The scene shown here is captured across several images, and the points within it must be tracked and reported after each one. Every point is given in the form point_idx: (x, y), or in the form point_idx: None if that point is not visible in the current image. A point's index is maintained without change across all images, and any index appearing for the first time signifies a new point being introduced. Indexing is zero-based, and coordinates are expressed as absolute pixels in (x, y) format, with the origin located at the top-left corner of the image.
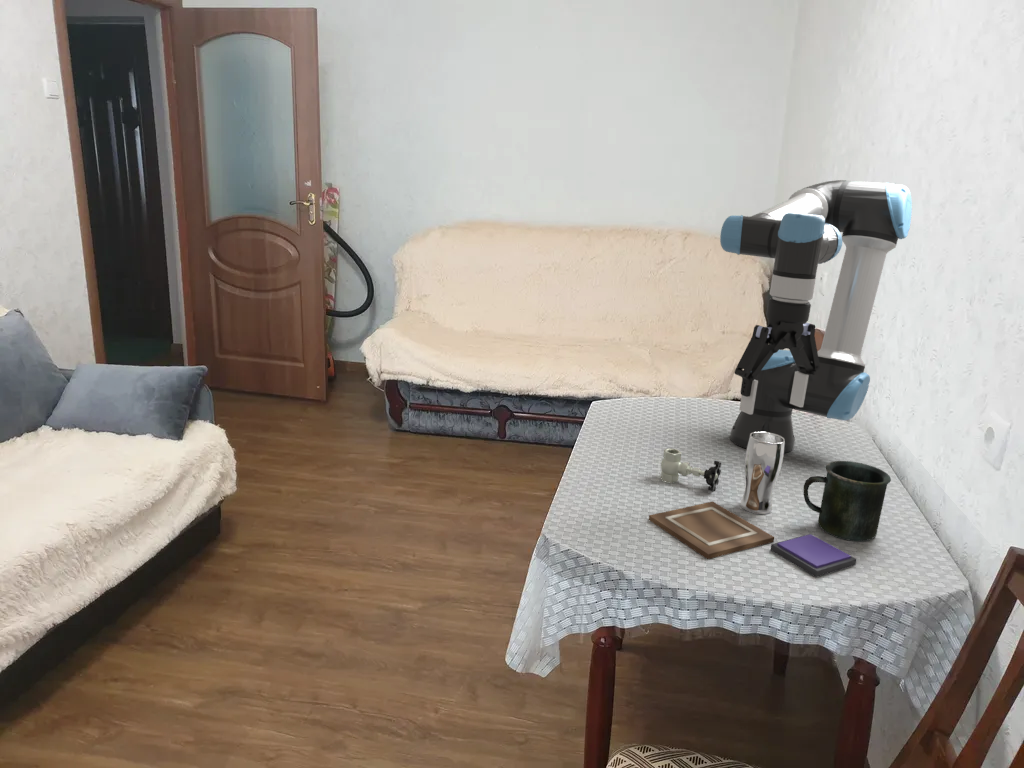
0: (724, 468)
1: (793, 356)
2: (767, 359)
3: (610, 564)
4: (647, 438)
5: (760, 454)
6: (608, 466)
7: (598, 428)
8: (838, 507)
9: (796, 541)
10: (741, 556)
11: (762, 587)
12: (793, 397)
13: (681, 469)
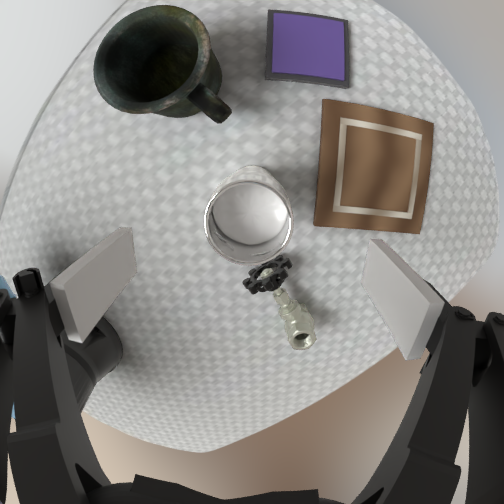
0: (188, 308)
1: (76, 407)
2: (441, 396)
3: (496, 180)
4: (222, 399)
5: (288, 198)
6: (334, 362)
7: (257, 426)
8: (214, 58)
9: (314, 68)
10: (391, 102)
11: (417, 52)
12: (125, 273)
13: (300, 309)
